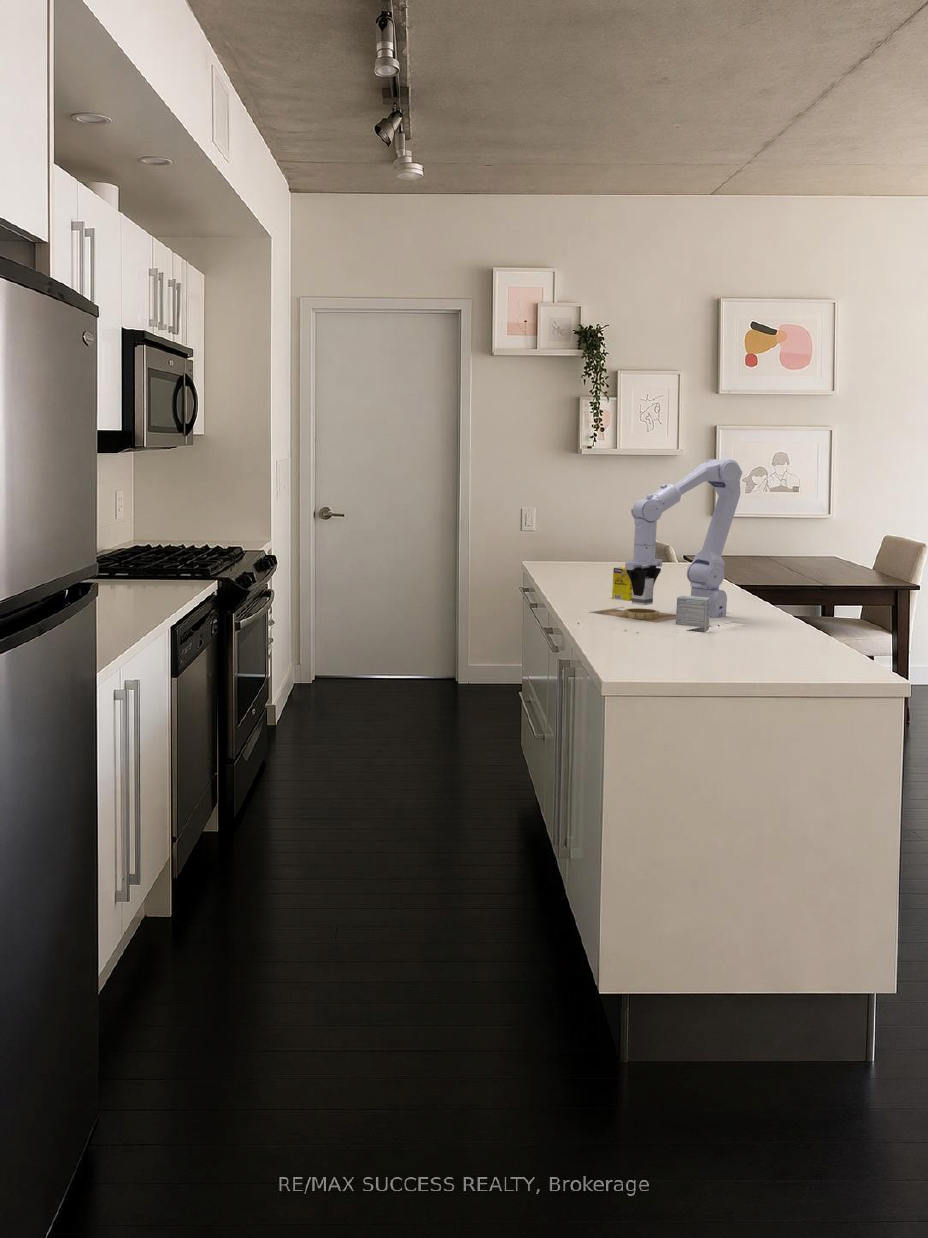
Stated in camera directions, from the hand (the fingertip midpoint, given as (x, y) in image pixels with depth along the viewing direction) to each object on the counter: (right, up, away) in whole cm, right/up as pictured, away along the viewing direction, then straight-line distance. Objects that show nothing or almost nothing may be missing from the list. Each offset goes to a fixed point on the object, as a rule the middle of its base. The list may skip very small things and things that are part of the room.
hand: (642, 594), depth 306 cm
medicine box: (+11, -10, -10) cm, 18 cm away
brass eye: (0, -6, +1) cm, 6 cm away
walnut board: (0, -7, +5) cm, 9 cm away
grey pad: (-1, -4, +11) cm, 12 cm away
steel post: (0, -2, 0) cm, 2 cm away
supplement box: (0, -2, +36) cm, 36 cm away
